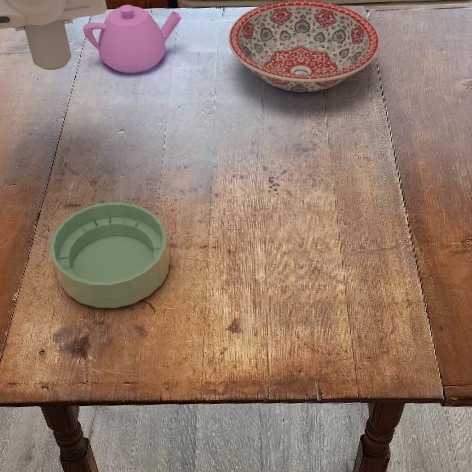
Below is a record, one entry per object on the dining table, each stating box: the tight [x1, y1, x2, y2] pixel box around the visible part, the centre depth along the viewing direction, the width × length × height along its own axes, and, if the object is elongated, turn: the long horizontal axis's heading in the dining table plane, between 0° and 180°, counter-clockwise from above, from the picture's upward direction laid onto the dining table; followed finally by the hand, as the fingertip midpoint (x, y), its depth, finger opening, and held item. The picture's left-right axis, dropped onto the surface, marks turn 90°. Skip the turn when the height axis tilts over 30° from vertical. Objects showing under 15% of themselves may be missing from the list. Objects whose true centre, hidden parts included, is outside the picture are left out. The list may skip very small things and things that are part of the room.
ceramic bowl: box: [228, 0, 380, 93], centre depth 135 cm, size 29×29×8 cm
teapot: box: [82, 4, 183, 74], centre depth 138 cm, size 14×20×11 cm
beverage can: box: [24, 20, 72, 71], centre depth 110 cm, size 6×6×12 cm
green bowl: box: [49, 201, 171, 309], centre depth 103 cm, size 17×17×6 cm
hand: (43, 22), depth 110 cm, fingers closed on beverage can, 6 cm apart
